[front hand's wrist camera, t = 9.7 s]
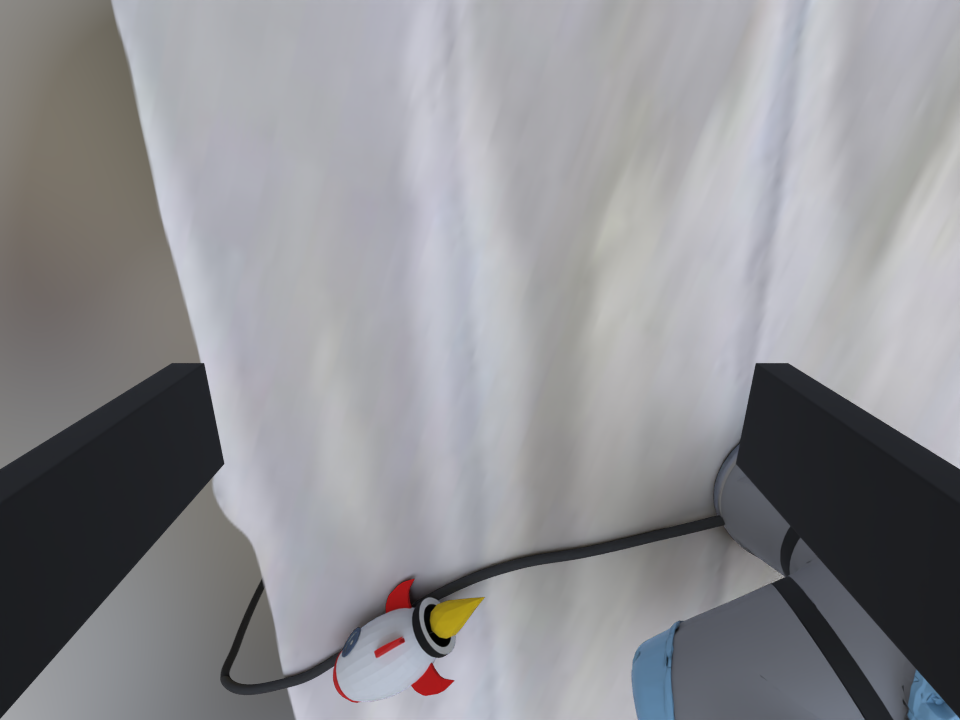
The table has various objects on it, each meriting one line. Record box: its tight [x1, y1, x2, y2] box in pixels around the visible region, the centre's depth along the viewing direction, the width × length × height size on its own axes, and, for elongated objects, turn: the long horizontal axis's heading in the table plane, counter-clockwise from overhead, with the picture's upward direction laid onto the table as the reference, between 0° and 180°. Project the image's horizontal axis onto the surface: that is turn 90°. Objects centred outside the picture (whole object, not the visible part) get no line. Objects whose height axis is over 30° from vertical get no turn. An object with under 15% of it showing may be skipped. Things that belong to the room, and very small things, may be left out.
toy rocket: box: [333, 579, 485, 703], centre depth 52 cm, size 9×10×20 cm
